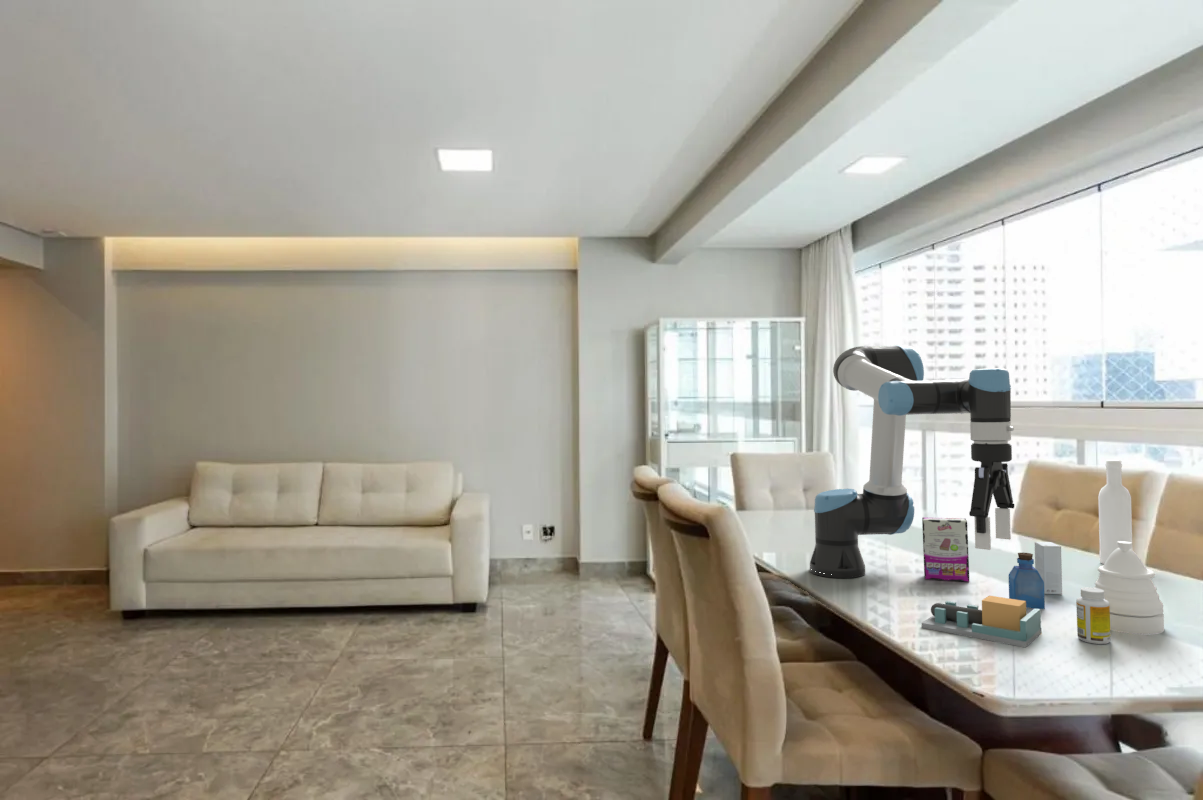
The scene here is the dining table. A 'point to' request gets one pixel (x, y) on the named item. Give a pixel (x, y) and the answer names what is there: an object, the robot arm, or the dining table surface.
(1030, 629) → the teal block plate
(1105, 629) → the supplement bottle
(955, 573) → the candy bar box
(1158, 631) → the honey pot
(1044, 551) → the skincare box
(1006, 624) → the orange cube-head hammer
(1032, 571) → the perfume bottle
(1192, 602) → the dining table surface
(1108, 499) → the bottle
